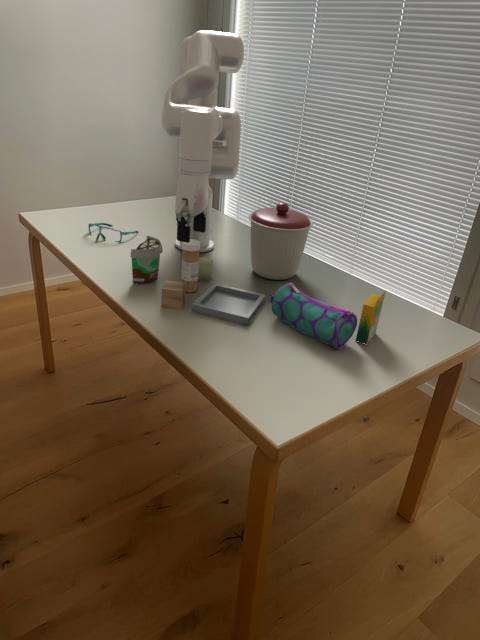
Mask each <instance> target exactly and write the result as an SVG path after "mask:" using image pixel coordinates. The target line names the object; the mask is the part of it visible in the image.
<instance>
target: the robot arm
mask: <svg viewBox="0 0 480 640" xmlns="http://www.w3.org/2000/svg"><path fill="white" fill-rule="evenodd" d="M180 44H181V45H180V57H181V65H182V70H183V72H184V73H182V74H181V75H180V76H178V77H177V78H176V79H175V80H173V82H172V83H171V84H170V85H169V86H168V88H167V90H166V92H165V94H164V99H163V106H162V115H161V124H162V128H163V131H164V133H165V135H168V136H170V137H172V138H179V149H178V150H179V151H178V152H179V153H178V154H179V156H178V178H177V183H176V189H175V190H176V192H175V203H174V213H175V216H176V217H175V221H176V228H177V229H176V239H175V241H174V246H175V247H176V248H177V249H178V250H181V251H183V250H182V242H186V243H189V242H190V239H195V240H198V241H199V242H200V250H199V253H206V252H210V251H211V250H213V249H214V248H215V243H214V241H213V240H211V234H212V232H213V230H212V228H211V223H212V209H213V207H212V206H213V189H212V188H211V186H210V184H209V183H210V181H209V179H217V180H228V181H229V180H233V179H235V178H236V176H237V175H238V171H239V163H240V150H241V149H240V148H241V134H242V133H241V131H242V124H241V123H242V120H241V117H240V116H241V115H240V114H239V111H237V110H235V109H234V108H229V107H228V108H227V107H219V106H218V93H219V92H218V88H217V87H218V86H219V82H220V73H228V74H236V73H238V72H240V70H241V69H242V66H243V62H244V59H245V58H244V57H245V56H244V55H245V46H244V42H243V39H242V37H241V36H240V35H238V34H237V33H233V32H232V33H231V32H226V31H225V32H224V31H223V32H222V31H216V30H208V29H207V30H202V29H201V30H198V31H196V32H194V33H193V34H192V35H191V36H187V37H185V38H183V40H182V42H181V43H180ZM186 102H187V103H186ZM213 142H219V143H222V144H224V145H217V144H213Z"/></svg>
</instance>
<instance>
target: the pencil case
mask: <svg viewBox="0 0 480 640" xmlns="http://www.w3.org/2000/svg"><path fill="white" fill-rule="evenodd" d="M267 303H268V304H271V313H272V314H273V315H274V316H275V317H277V319H279V320H281V321H282V322H284V323H285V324H287V325H288V326H291V328H293V329H296V330H297V331H299V332H301V333H303V334H305V335H307V336H309V337H311V338H312V339H315V340H317V341H320V342H321V343H325V344H326V345H328V346H332V347H333V348H335V349H337V350H340V349H343V348H344V347H345V345H347V343H348V342H349V340H350V339H351V338H352V337H353V335H354V334H355V331H356V329H357V326H358V318H357V315H356V314H355V312H354V311H352V312H351V311H350V310H345V309H342V308H339V307H335V306H333V305H329V304H328V303H325V302H323V301H321V300H318V299H315V298H313V297H311V296H309V295H306V294H305V293H304V292H303V291H301V290H300V289H298V288H297V287H296V284H294V282H291V281H290V282H289V283H288V282H286V283H284V284H283V285H281V286H280V287H279V288H278V289H277V290H276V292H275V294H269V295H268V299H267Z"/></svg>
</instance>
